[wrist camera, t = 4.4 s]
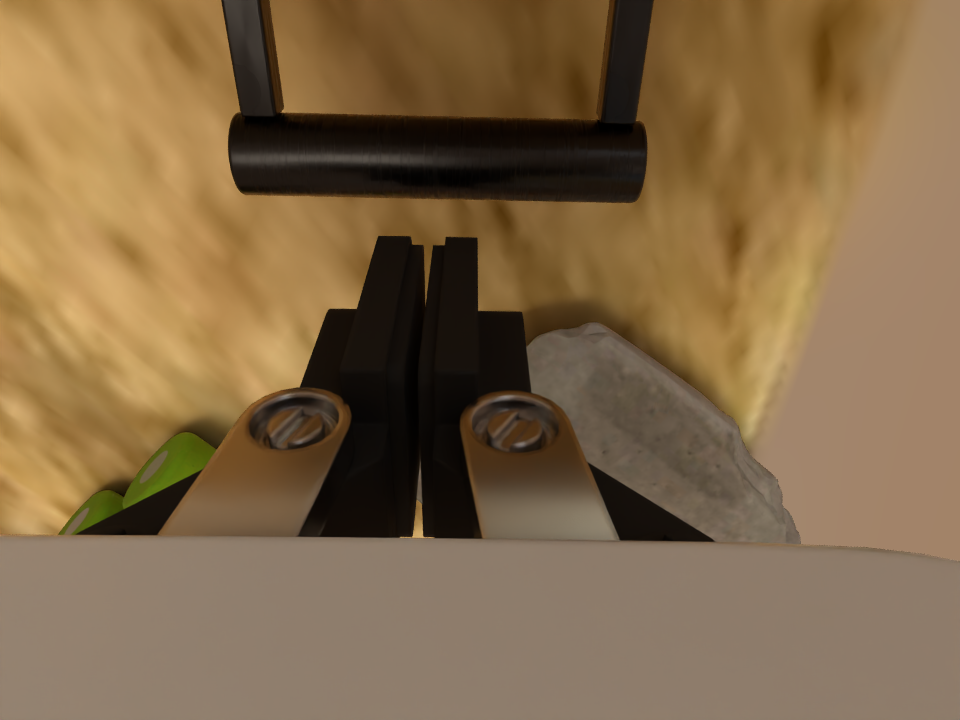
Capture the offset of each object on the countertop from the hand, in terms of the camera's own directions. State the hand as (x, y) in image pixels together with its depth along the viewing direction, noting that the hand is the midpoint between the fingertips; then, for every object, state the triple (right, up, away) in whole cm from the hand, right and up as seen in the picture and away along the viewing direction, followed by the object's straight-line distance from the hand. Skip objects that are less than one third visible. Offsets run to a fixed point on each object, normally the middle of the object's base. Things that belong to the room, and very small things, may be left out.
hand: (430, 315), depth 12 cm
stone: (+2, -9, +13) cm, 16 cm away
